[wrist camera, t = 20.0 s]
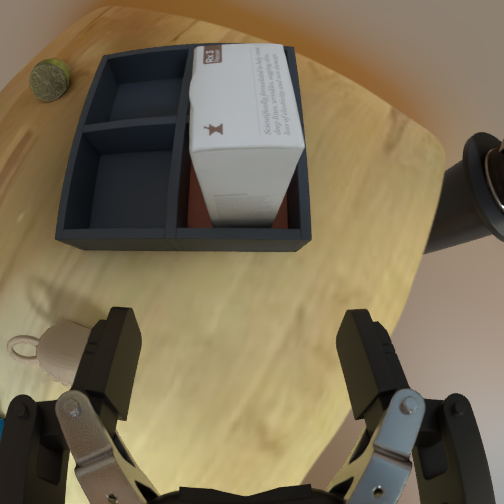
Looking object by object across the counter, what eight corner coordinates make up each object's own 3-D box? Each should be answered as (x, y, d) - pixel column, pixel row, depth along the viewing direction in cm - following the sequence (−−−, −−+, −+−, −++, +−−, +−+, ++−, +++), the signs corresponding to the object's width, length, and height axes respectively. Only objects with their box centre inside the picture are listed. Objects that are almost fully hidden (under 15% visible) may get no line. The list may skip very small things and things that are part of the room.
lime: (80, 86, 24) (63, 58, 19) (45, 114, 23) (24, 89, 18) (70, 69, 24) (54, 43, 19) (38, 95, 23) (19, 71, 18)
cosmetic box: (272, 231, 22) (318, 153, 10) (210, 235, 21) (186, 158, 9) (265, 156, 23) (292, 41, 11) (208, 158, 22) (192, 42, 10)
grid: (286, 78, 25) (294, 46, 20) (296, 252, 22) (312, 240, 18) (116, 84, 24) (103, 55, 19) (83, 250, 21) (54, 239, 17)
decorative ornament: (122, 389, 20) (94, 410, 14) (41, 353, 19) (4, 362, 14) (130, 342, 20) (101, 353, 15) (47, 309, 20) (9, 310, 15)
